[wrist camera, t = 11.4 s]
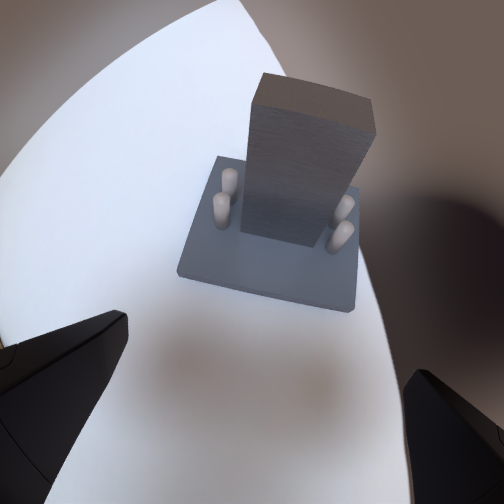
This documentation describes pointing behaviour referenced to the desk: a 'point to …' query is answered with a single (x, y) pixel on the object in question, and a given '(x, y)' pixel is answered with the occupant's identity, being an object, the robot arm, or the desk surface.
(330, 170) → the block
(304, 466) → the desk surface
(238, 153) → the desk surface
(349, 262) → the grey pegged stand
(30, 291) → the desk surface
